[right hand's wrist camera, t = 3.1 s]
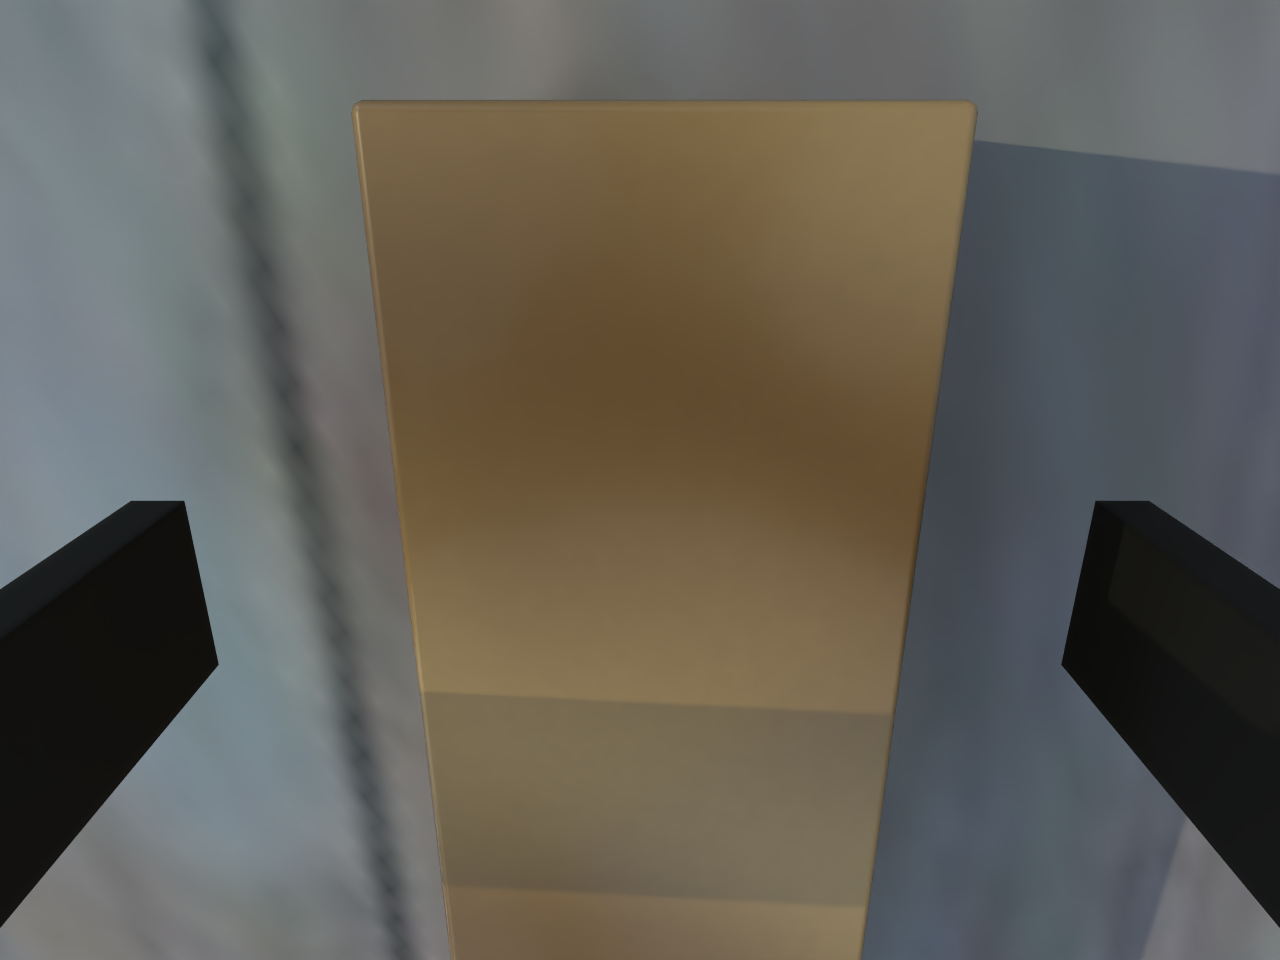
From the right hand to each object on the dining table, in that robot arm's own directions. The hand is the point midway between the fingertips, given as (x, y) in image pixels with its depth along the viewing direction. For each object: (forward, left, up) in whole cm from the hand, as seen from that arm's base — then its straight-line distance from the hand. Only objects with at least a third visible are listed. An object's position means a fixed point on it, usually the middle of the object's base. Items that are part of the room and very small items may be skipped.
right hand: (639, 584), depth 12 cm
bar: (+16, +27, -4) cm, 32 cm away
